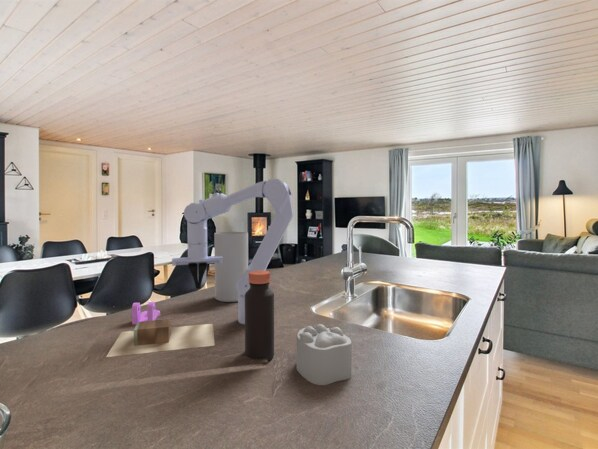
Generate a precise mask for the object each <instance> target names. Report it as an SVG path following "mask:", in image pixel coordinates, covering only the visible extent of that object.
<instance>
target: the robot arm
mask: <svg viewBox="0 0 598 449" xmlns="http://www.w3.org/2000/svg"><path fill="white" fill-rule="evenodd" d="M255 198H264V199H266V200H268V202H269V203H270V204H271V206H272V209H273V211H274V213H275V214H274V217H273V219H272V221H271V223H270V225H269V228H268V229H267V231H266V233H265V235H264V237H263V239H262V241H261V243H260V244H259V246H258V248H257V250H256V253H255V254H254V256H253V259H252V260H251V262H250V263H249V264H248V268H247V269H246V271H245V273H244V274H243V275H242V276H241V277H239V278H238V280H237V282H236V289H237V291H238V301H237V302H238V303H237V307H238V312H237V313H238V314H237V315H238V316H237V317H238V319H237V320H238V321H237V322H238V323H239V324H241V325H245V293H246V292H247V291H248V290H249V289H250V285H249V272H251V271H267V268H268V265H269V264H270V262H271V260H272V258H273V256H274V254H275V252H276V250H277V248H278V246H279V244H280V242H281V240H282V238H283V237H284V234H285V232H287V229H288V227H289V225H290V223H291V221H292V219H293V217H294V206H293V204H294V203H293V193H292V191H291V189H290V186H289V185H288V184H287V183H286V181H282V180H281V179H279V178H275V177H274V178H270V179H267V180H262V181H258V182H256V183H254V184H251V185H249V186H247V187H244V188H241V189H240V190H237V191H235V192H232V193H231V194H228V195H227V194H225V193H222V192H221V193H219V192H215V193H213V196H211V197H209V198H206V199H203V198H202V199H199V200H198V201H199V202H198V203H196V202H191V203H190V204H188V205H186V206H185V208H184V211H183V216H184V219H185V220H186V223H187V227H186V228H187V230H186V231H187V257H173V258H172V259H171V266H187V265H188V270H189V272H190V273H191V277H192V278H193V281H194V286H195V289H196V290H197V289H198V290H200V289H201V285H202V280H203V277H204V275H205V272H206V270H207V267H208V264H212V265H213V264H215V263H219V264H222V263H223V258H222V256H220V257H215V255H214V256H208V220H209V219H213V218H215V217H217V216H219V215H223V214H225V213H228V212H230V210H231V208H232V207H233V206H235V205H237V204H240V203H243V202H245V201H248V200H252V199H255Z"/></svg>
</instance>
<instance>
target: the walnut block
mask: <svg viewBox="0 0 598 449" xmlns="http://www.w3.org/2000/svg"><path fill="white" fill-rule="evenodd" d="M171 322H172V320H171V319H169V318H168V319H157V320H156V319H155V320H154V321H142V322H138V323H137V324H136V325H135V327H134V328H133V331H134V346H138V345H148V344H158V343H168V342H169V340H170V336H171V327H172V324H171Z"/></svg>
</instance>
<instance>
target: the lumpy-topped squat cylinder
mask: <svg viewBox="0 0 598 449" xmlns="http://www.w3.org/2000/svg"><path fill="white" fill-rule="evenodd" d="M352 344H353V342H352V339H351V338H350V337H348V336H347V335H345V333H343V330H342V329H341V328H340V327H339V326H333V327H326V326H325V325H324V324H322V323H318V324H316V325H307V326H305V327H303V328H301V329H299V331H298V332H297V335H296V371H297V372H298V373H299V374H300V375H301V376H302V377H303V378H304V379H306V381H308V382H309V383H312V384H314V385H316V386H327V385H331V384H333V383H335V382H340V381H346V380H348V379H351V377H352V364H353V363H352V360H353V359H352V358H353V357H352V356H353V355H352V354H353V352H352V351H353V350H352V349H353V348H352V347H353V346H352Z"/></svg>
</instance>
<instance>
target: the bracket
mask: <svg viewBox="0 0 598 449" xmlns="http://www.w3.org/2000/svg"><path fill="white" fill-rule="evenodd" d="M146 308H147V309H146V310H144V311H141V303H140V302H133V303H132V306H131V325H135V326H136V325H137V323H138V322H142V321H154V320H156V319H157V317H159V316H161V311H160V310H159V309H156V302H155V301H149V302H148V303H147V307H146Z"/></svg>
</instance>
